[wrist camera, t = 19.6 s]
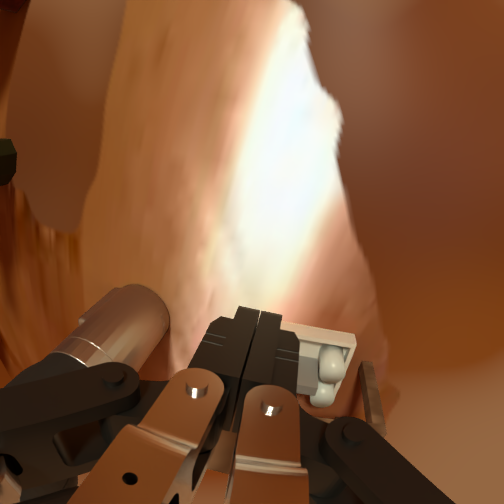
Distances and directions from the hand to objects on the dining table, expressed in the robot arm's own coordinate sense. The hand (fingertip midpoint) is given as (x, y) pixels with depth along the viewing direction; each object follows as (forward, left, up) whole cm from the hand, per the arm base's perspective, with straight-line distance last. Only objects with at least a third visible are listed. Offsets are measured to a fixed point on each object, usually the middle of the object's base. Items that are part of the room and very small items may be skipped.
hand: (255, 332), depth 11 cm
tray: (+6, -21, -27) cm, 35 cm away
